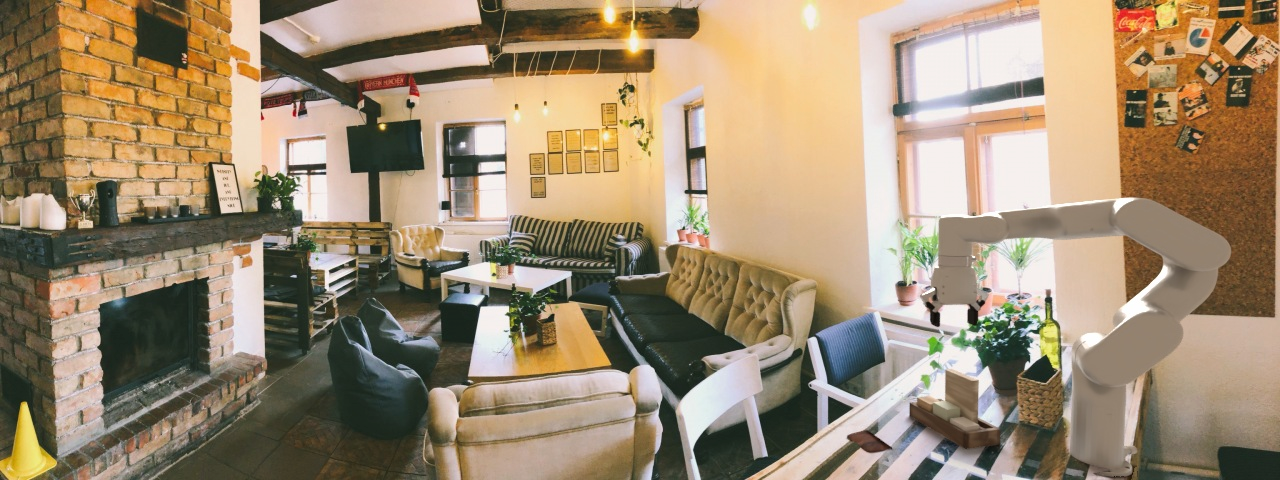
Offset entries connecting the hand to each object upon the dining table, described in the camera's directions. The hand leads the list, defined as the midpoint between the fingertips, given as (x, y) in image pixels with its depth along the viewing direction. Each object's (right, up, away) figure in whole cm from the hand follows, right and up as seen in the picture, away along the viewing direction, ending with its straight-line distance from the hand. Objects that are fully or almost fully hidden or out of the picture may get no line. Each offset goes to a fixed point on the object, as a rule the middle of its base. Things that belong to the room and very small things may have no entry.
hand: (953, 325), depth 134 cm
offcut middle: (0, -29, +3) cm, 29 cm away
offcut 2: (+1, -30, -3) cm, 30 cm away
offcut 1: (-1, -29, +9) cm, 30 cm away
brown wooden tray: (+1, -31, +3) cm, 31 cm away
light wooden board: (+4, -29, +4) cm, 29 cm away
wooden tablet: (-13, -32, +4) cm, 35 cm away
